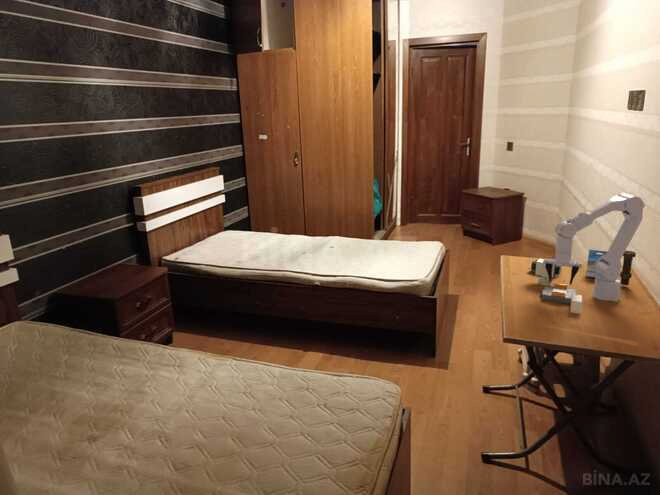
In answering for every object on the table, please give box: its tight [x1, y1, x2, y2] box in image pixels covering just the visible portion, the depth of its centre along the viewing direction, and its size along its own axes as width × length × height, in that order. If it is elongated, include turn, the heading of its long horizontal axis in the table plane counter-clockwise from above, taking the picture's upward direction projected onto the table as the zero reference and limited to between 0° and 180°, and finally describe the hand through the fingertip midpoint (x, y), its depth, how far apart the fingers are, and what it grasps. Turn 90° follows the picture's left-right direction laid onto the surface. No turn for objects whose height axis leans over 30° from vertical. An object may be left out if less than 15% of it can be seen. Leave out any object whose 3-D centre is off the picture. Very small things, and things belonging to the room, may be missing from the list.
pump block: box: [570, 294, 583, 315], centre depth 188 cm, size 4×7×5 cm, turn 154°
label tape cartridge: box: [585, 249, 608, 279], centre depth 221 cm, size 9×4×12 cm, turn 61°
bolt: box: [619, 250, 637, 286], centre depth 210 cm, size 6×5×15 cm
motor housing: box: [540, 282, 577, 305], centre depth 200 cm, size 15×12×4 cm
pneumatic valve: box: [530, 258, 563, 286], centre depth 214 cm, size 6×12×12 cm, turn 53°
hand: (560, 282), depth 199 cm, fingers open, 7 cm apart
